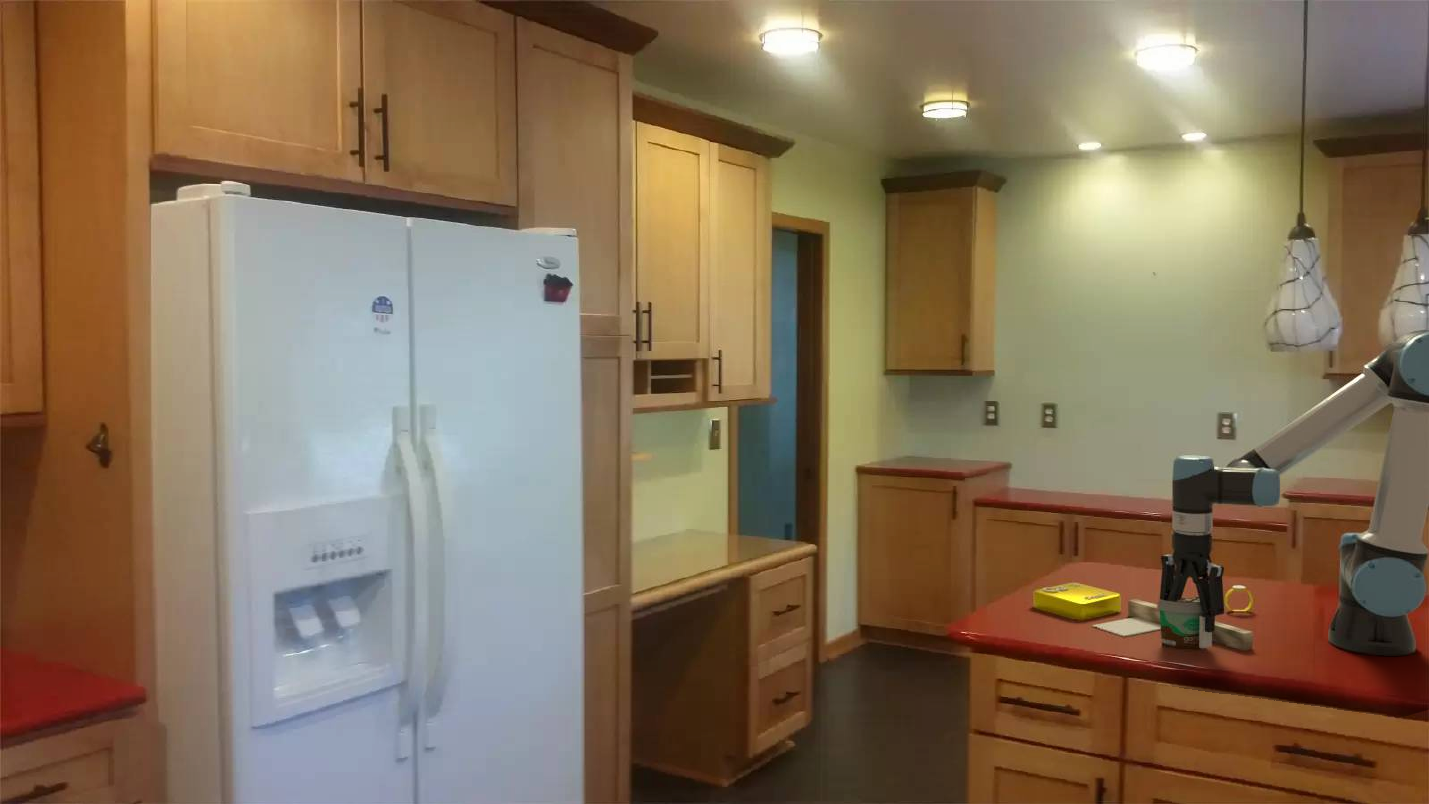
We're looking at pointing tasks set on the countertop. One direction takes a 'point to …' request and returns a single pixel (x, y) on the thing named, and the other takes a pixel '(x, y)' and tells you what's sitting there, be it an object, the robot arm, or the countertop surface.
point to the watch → (1239, 588)
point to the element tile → (1077, 601)
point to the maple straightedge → (1220, 635)
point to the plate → (1129, 626)
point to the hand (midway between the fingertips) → (1190, 642)
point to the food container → (1180, 623)
